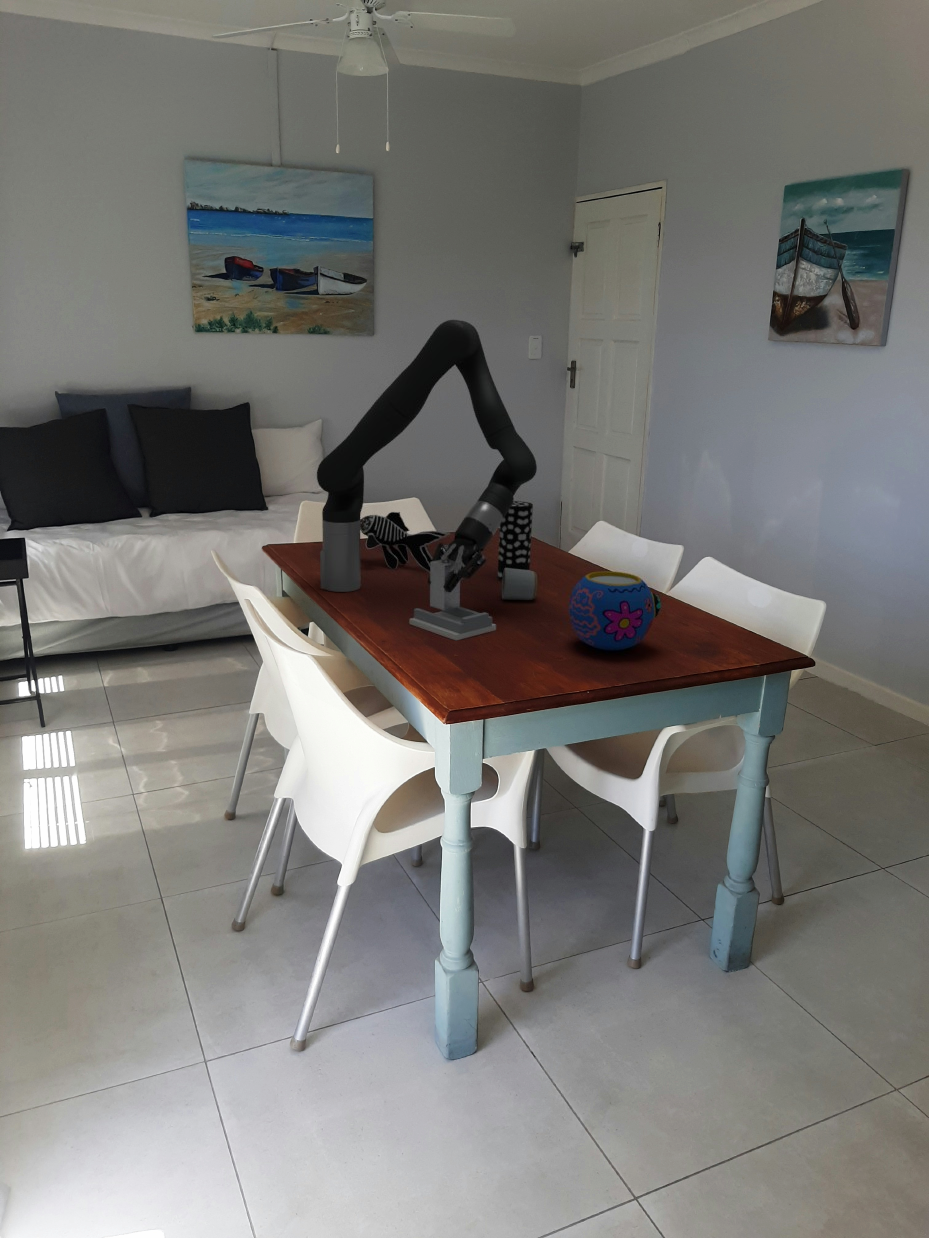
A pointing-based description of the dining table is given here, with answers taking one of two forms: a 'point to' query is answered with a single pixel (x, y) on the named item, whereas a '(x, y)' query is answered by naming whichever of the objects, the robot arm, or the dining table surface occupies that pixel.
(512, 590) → the ceramic mug
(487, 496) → the robot arm
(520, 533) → the spotted tube
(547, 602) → the dining table surface
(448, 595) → the aluminium block
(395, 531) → the decorative fish
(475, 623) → the grey open box
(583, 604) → the ceramic pot
